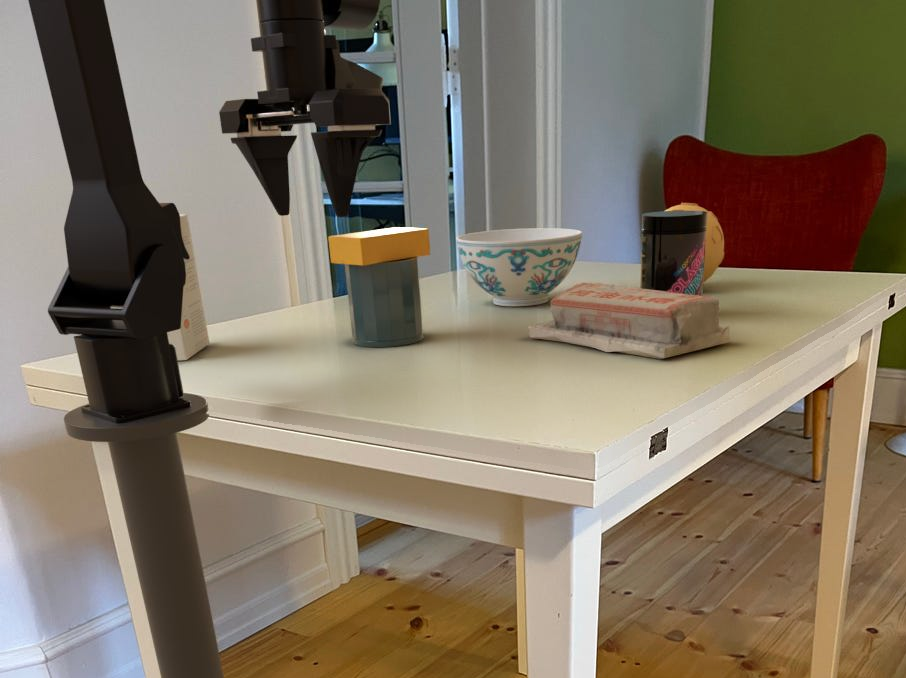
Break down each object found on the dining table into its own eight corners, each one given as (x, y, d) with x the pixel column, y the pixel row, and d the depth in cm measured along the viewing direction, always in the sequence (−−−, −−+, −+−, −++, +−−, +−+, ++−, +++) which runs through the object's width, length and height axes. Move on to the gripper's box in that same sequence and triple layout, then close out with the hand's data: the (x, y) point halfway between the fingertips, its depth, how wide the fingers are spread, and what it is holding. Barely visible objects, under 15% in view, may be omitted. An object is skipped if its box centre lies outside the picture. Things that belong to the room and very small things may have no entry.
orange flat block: (362, 265, 95) (360, 238, 94) (330, 263, 98) (327, 236, 97) (430, 254, 101) (428, 228, 100) (398, 252, 104) (396, 227, 103)
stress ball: (640, 296, 121) (642, 207, 116) (643, 284, 129) (645, 201, 125) (723, 294, 119) (729, 204, 114) (721, 282, 128) (726, 198, 123)
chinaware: (447, 298, 126) (443, 234, 123) (558, 289, 129) (557, 225, 126) (477, 316, 113) (474, 244, 110) (600, 305, 116) (600, 234, 113)
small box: (153, 347, 106) (127, 215, 100) (211, 345, 106) (189, 212, 100) (125, 363, 99) (96, 222, 93) (187, 360, 99) (162, 219, 93)
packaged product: (737, 290, 91) (666, 306, 85) (733, 344, 93) (664, 363, 88) (595, 276, 103) (525, 289, 98) (595, 324, 106) (527, 339, 100)
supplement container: (651, 324, 104) (655, 217, 99) (630, 314, 110) (632, 213, 105) (712, 319, 105) (718, 213, 100) (687, 310, 111) (692, 209, 106)
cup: (384, 350, 99) (377, 265, 95) (339, 342, 103) (330, 261, 100) (437, 337, 103) (432, 256, 100) (391, 331, 108) (385, 253, 104)
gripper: (430, 15, 86) (441, 211, 93) (303, 37, 98) (321, 209, 105) (328, 8, 79) (347, 220, 86) (204, 33, 91) (230, 217, 98)
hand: (312, 216), depth 94 cm, fingers open, 9 cm apart
